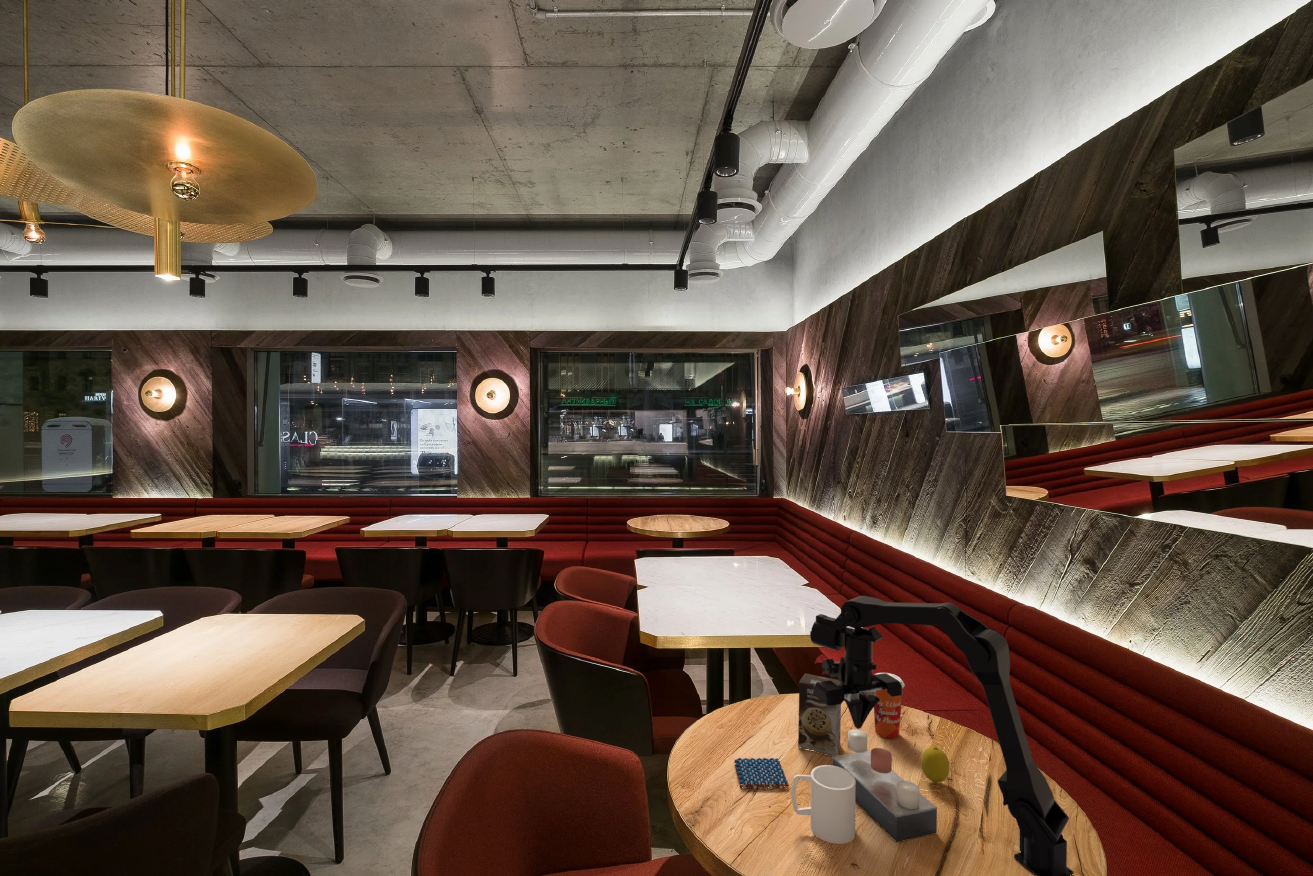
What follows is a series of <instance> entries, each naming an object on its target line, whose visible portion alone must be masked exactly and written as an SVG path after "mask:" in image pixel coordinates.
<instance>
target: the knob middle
mask: <svg viewBox="0 0 1313 876" xmlns="http://www.w3.org/2000/svg"><path fill="white" fill-rule="evenodd" d="M870 752H871V768H872V769H873V770H875V771H877V772H879V773H890V772H891V771H892V770H893V769H892V768H893V767H892V766H893V764H892V763H893V755H892V752H891V751H890V750H887V749H885V748H882V747H874V748H872V749H871V750H870Z"/></svg>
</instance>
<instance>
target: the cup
mask: <svg viewBox="0 0 1313 876" xmlns="http://www.w3.org/2000/svg"><path fill="white" fill-rule="evenodd" d="M799 779H800V780H802V781H806V782H809V783H810V806H808V807H801V808H798V801H797V796H796V791H797V786H798V781H799ZM855 788H856V781H855V777H854V776H853V775H852V774H851V773H850V772H849V771H847V770H845V769H843V768H840V767H837V766H833V764H832V765H831V764H828V765H827V764H823V765H818V766H816V767H813V768H812V770H811V772H810V774H796V775H794V776H793V779H792V785H791V790H790V796H791V802H792V808H793V811H794V812H795V813H796V814H797V815H799V816H810V829H811V831H812V833H813V834H814V835H815V836H816V837H818V838H819V839H820V840H823V841H824V842H827V843H830V844H835V845H837V844H839V845H840V844H841V845H842V844H846V843H850V842H851V841H852V840H853V839H854V838H855V836H856V802H855Z"/></svg>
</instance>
